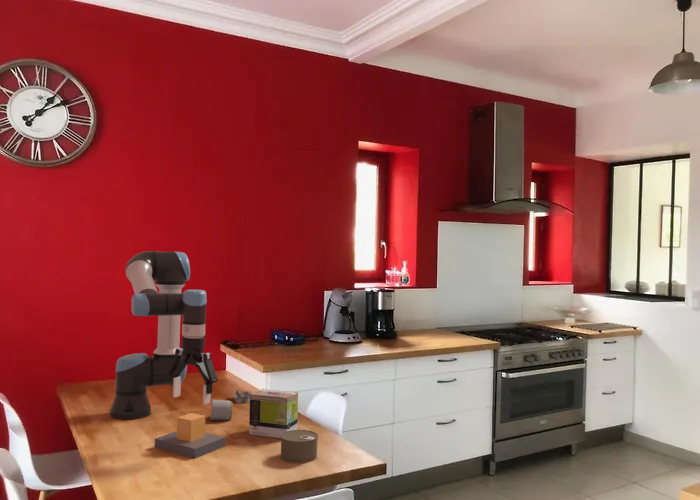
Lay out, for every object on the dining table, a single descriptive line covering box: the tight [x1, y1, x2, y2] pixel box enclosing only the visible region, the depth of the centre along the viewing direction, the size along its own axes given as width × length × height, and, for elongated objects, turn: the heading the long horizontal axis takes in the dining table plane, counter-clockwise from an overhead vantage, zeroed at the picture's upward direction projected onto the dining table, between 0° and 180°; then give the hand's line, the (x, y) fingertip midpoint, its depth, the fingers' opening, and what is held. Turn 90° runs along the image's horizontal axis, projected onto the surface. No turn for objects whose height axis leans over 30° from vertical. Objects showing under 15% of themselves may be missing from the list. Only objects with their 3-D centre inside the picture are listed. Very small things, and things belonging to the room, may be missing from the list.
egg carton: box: [232, 389, 252, 404], centre depth 253 cm, size 11×8×4 cm
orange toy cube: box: [176, 412, 206, 442], centre depth 191 cm, size 6×6×7 cm
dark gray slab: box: [154, 430, 227, 459], centre depth 191 cm, size 18×14×3 cm
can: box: [280, 429, 319, 464], centre depth 184 cm, size 12×12×7 cm
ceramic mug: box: [210, 399, 233, 421], centre depth 224 cm, size 11×8×8 cm
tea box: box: [248, 388, 299, 439], centre depth 207 cm, size 15×10×15 cm, turn 71°
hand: (191, 400), depth 191 cm, fingers open, 13 cm apart
